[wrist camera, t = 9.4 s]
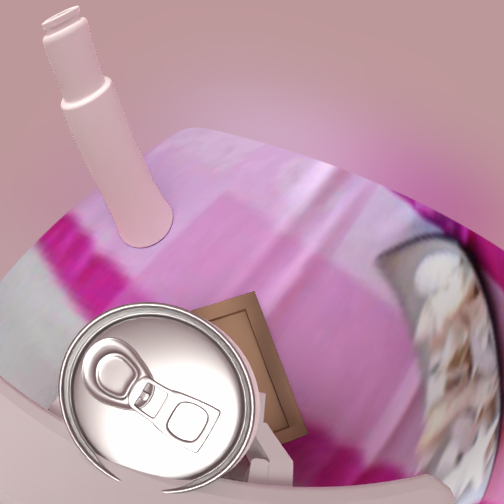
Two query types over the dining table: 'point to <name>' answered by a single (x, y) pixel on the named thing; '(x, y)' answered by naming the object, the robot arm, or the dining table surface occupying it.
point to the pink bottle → (104, 132)
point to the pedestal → (259, 361)
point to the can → (159, 394)
